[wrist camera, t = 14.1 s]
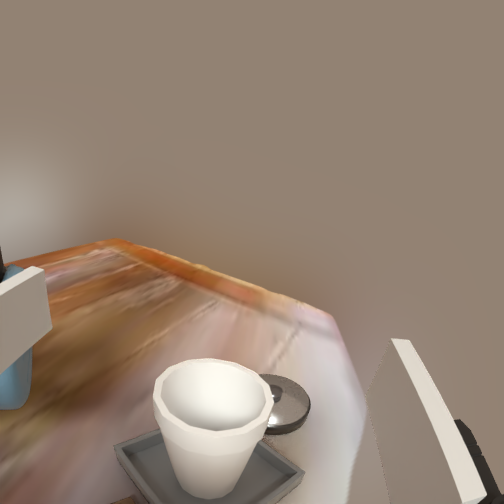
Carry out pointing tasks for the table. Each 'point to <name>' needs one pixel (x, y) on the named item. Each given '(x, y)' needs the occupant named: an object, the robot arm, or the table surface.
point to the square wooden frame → (125, 501)
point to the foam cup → (210, 422)
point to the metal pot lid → (286, 405)
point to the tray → (178, 500)
